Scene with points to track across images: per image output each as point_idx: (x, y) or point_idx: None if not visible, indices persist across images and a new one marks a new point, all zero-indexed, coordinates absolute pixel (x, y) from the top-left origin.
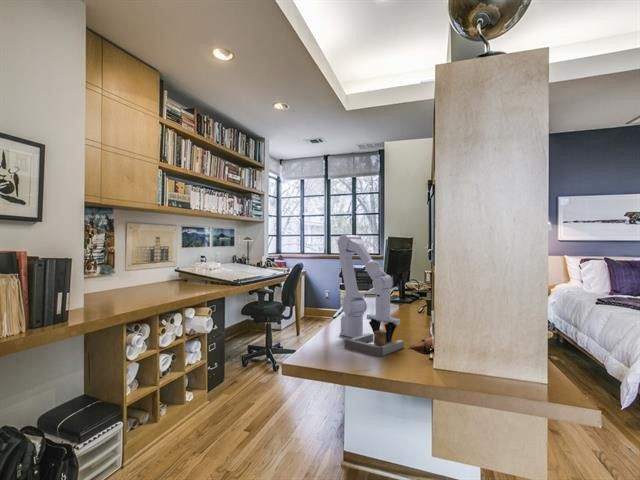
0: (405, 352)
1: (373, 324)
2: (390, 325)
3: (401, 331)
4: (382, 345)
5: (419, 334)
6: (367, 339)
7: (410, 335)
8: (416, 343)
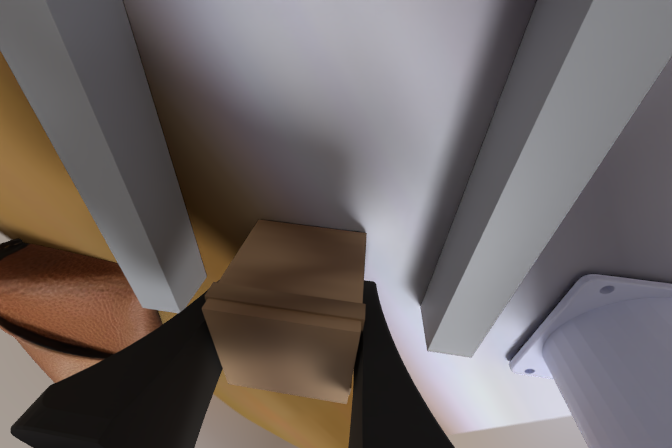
0: (76, 191)
1: (365, 438)
2: (13, 428)
3: None
4: (278, 225)
5: (283, 431)
6: (446, 265)
7: (300, 417)
8: (109, 319)
